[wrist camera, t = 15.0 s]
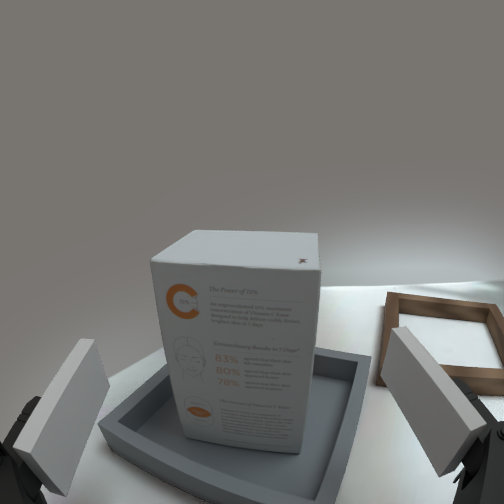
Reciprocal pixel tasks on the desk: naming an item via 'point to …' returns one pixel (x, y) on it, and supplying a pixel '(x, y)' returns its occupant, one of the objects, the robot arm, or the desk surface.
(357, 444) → the desk surface
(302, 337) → the small box
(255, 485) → the slate tray
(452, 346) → the desk surface
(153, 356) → the desk surface
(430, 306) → the walnut frame
